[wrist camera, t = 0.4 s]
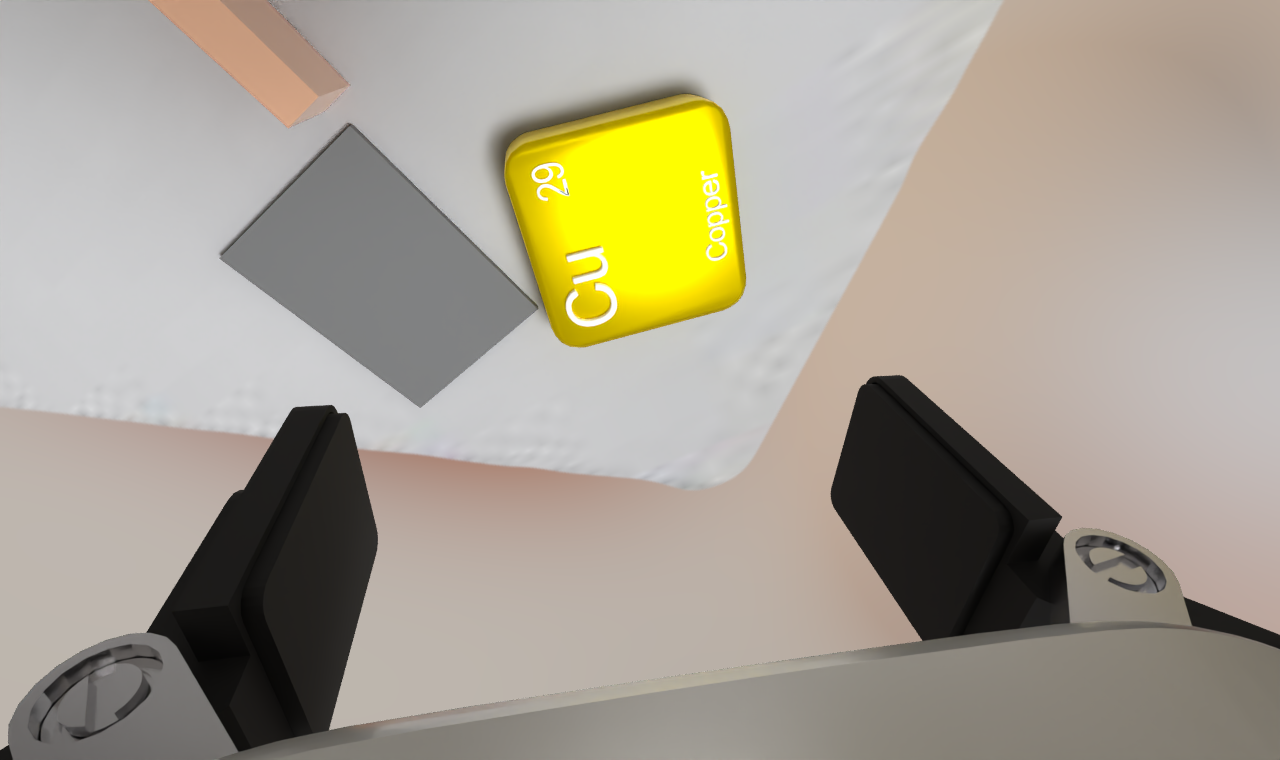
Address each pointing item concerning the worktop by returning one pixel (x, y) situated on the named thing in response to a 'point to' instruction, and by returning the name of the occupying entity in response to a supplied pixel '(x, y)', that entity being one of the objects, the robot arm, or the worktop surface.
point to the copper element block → (630, 217)
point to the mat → (380, 271)
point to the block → (260, 54)
